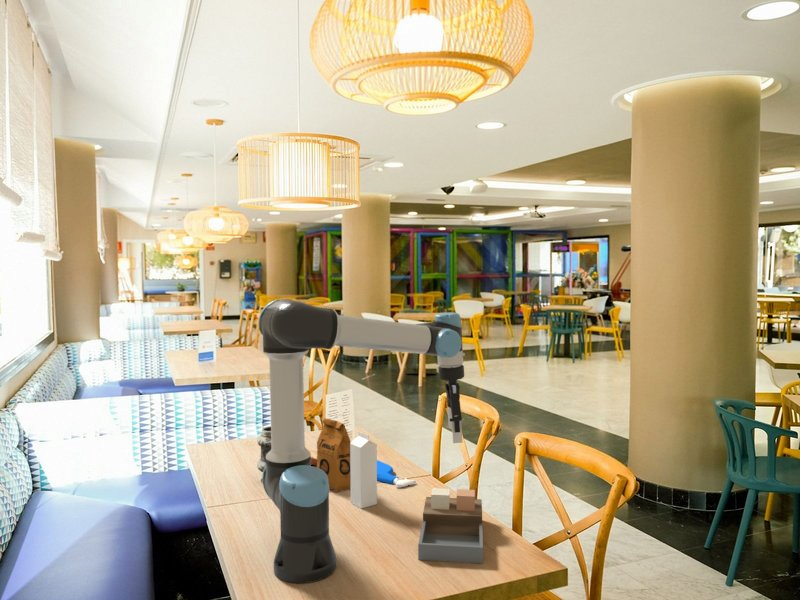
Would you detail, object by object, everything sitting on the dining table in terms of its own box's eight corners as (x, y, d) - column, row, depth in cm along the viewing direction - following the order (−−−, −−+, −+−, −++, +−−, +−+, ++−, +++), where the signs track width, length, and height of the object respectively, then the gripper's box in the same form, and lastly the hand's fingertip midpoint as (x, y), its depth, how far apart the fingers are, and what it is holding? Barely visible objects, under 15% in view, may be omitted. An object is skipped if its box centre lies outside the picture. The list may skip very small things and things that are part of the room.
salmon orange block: (474, 510, 166) (474, 496, 166) (456, 510, 167) (456, 495, 167) (474, 503, 171) (474, 489, 171) (456, 502, 172) (457, 489, 172)
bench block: (482, 538, 163) (482, 516, 163) (422, 535, 165) (422, 513, 164) (481, 519, 175) (481, 499, 174) (426, 517, 177) (426, 496, 176)
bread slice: (279, 456, 235) (279, 447, 235) (325, 452, 240) (325, 443, 240) (284, 471, 218) (284, 461, 218) (334, 466, 223) (334, 456, 223)
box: (482, 563, 149) (483, 547, 149) (418, 559, 151) (418, 544, 151) (482, 538, 163) (482, 523, 163) (422, 535, 165) (422, 520, 165)
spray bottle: (352, 464, 217) (394, 484, 198) (376, 458, 223) (419, 477, 204) (352, 472, 217) (394, 493, 198) (376, 465, 224) (419, 485, 204)
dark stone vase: (290, 472, 216) (289, 422, 215) (295, 483, 204) (294, 431, 203) (255, 476, 212) (254, 425, 211) (258, 488, 200) (258, 434, 199)
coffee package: (333, 494, 194) (332, 427, 193) (313, 483, 204) (312, 419, 203) (358, 487, 201) (358, 422, 199) (338, 477, 210) (337, 415, 209)
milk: (361, 509, 183) (360, 437, 181) (350, 502, 188) (349, 432, 186) (377, 504, 186) (376, 433, 185) (366, 498, 191) (365, 429, 190)
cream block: (449, 509, 167) (449, 495, 167) (431, 508, 168) (431, 494, 167) (449, 502, 172) (449, 488, 172) (432, 501, 173) (432, 488, 172)
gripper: (468, 372, 166) (473, 448, 168) (459, 356, 191) (463, 422, 193) (441, 374, 166) (446, 450, 168) (435, 358, 191) (439, 423, 193)
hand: (455, 435), depth 180 cm, fingers open, 13 cm apart
